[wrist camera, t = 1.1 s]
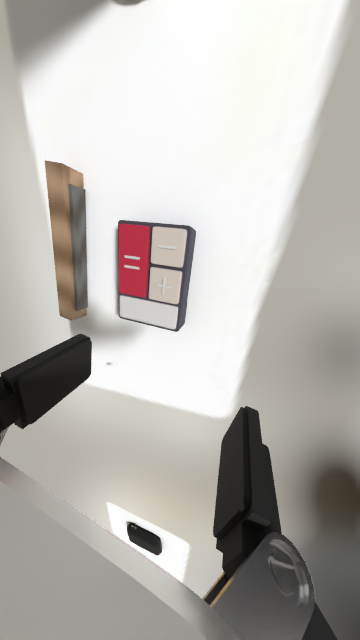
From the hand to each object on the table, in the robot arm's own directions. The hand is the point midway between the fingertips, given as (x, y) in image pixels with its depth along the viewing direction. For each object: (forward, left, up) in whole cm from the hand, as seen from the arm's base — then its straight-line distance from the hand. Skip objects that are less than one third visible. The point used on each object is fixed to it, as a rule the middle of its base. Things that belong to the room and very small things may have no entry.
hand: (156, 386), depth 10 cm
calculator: (-1, -9, -20) cm, 22 cm away
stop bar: (-1, -25, -19) cm, 32 cm away
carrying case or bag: (+100, +3, -20) cm, 102 cm away
